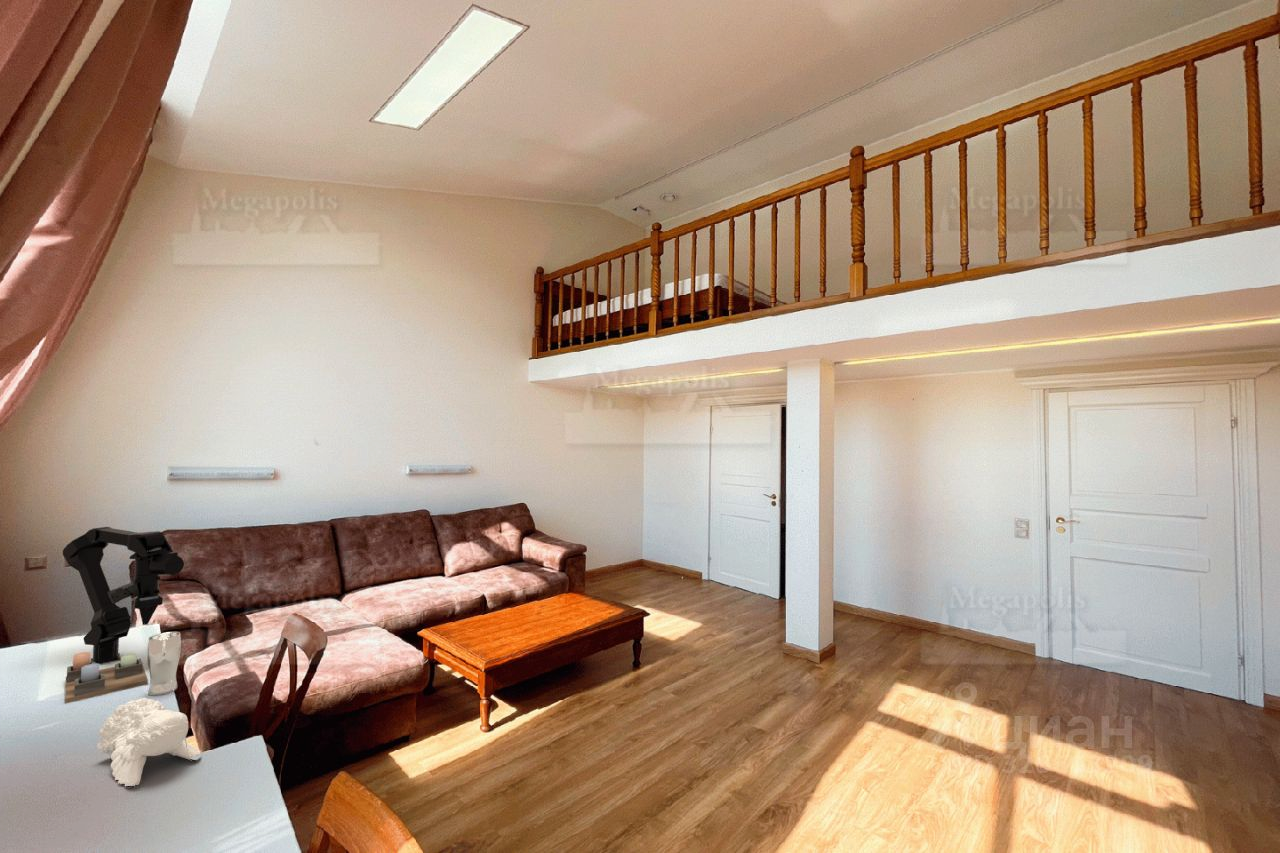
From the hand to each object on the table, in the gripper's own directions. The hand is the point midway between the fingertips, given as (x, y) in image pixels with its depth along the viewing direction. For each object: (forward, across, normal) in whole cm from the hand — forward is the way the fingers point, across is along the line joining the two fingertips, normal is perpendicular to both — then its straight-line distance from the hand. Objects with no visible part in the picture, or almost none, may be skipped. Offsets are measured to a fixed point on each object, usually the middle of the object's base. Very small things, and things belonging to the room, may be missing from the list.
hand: (145, 624), depth 167 cm
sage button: (+10, +10, -4) cm, 15 cm away
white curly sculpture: (+12, +70, -4) cm, 71 cm away
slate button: (+9, +17, -12) cm, 22 cm away
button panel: (+12, +10, -8) cm, 18 cm away
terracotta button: (+9, +4, -13) cm, 17 cm away
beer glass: (+12, +28, +2) cm, 31 cm away
